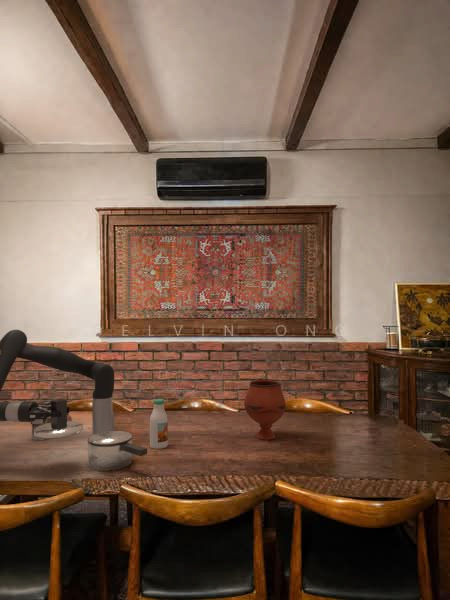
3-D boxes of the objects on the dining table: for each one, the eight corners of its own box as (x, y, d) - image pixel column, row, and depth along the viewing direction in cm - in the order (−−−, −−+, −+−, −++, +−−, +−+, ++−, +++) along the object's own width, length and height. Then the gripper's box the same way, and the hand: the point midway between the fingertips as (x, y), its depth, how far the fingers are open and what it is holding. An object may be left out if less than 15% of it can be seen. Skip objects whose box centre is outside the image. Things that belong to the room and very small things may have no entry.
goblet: (256, 429, 206) (255, 377, 207) (292, 434, 196) (292, 380, 197) (237, 439, 190) (236, 383, 190) (276, 446, 180) (275, 387, 180)
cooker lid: (67, 422, 168) (67, 393, 169) (92, 430, 158) (92, 399, 158) (25, 432, 155) (25, 401, 155) (49, 441, 144) (49, 408, 145)
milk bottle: (150, 450, 176) (150, 402, 176) (149, 444, 183) (148, 398, 184) (169, 448, 178) (168, 400, 178) (166, 443, 185) (166, 397, 186)
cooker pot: (114, 453, 172) (114, 428, 173) (161, 468, 155) (161, 440, 155) (78, 464, 159) (79, 438, 160) (125, 482, 142) (125, 452, 143)
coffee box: (43, 440, 190) (44, 404, 191) (31, 439, 191) (31, 404, 192) (55, 434, 199) (56, 400, 200) (43, 434, 200) (44, 400, 201)
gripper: (10, 406, 151) (56, 406, 149) (32, 397, 165) (74, 397, 164) (11, 427, 150) (56, 427, 149) (32, 416, 165) (74, 417, 163)
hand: (65, 411), depth 156 cm, fingers closed on cooker lid, 5 cm apart
